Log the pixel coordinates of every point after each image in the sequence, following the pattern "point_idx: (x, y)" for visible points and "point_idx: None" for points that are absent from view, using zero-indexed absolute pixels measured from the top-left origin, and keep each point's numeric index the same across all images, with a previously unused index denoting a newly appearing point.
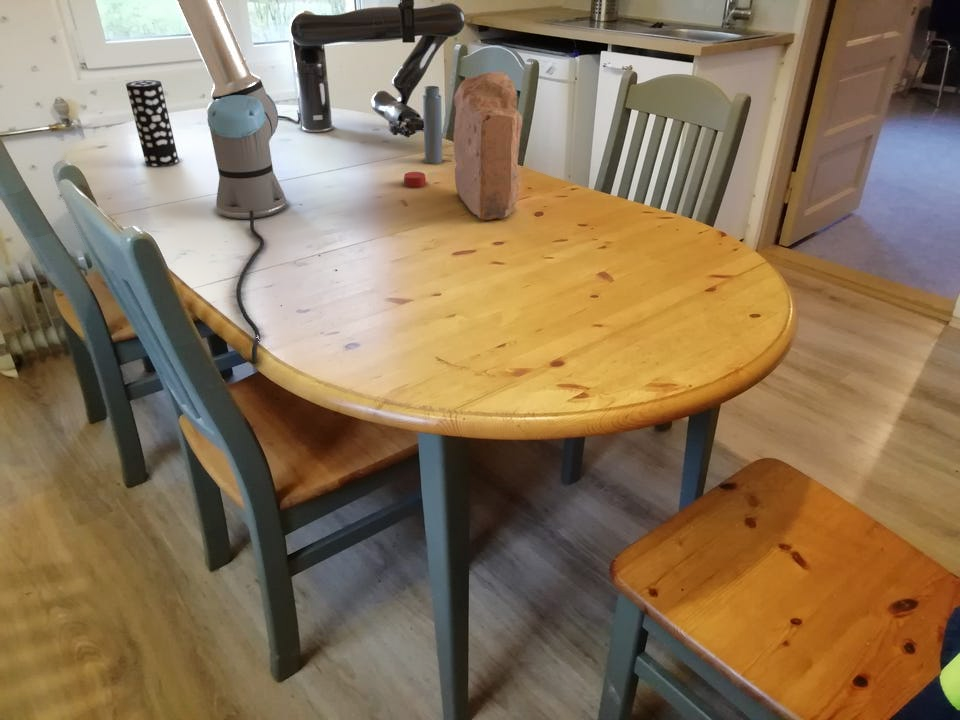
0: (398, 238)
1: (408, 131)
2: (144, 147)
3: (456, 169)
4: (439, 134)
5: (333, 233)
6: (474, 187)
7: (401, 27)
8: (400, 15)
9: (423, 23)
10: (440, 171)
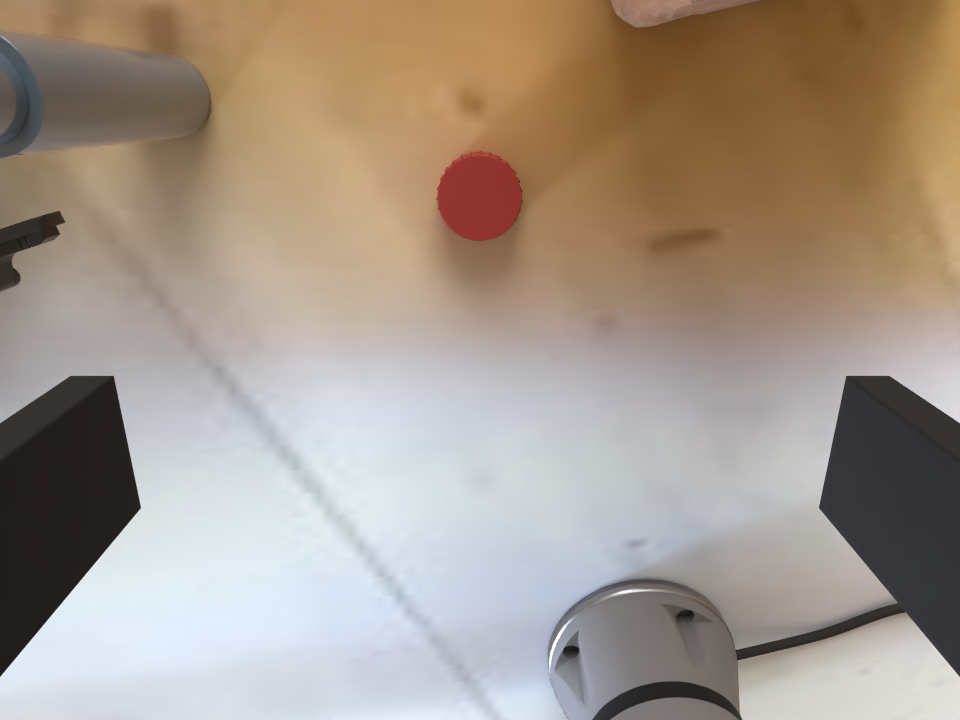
0: None
1: (47, 220)
2: None
3: (675, 15)
4: (135, 59)
5: None
6: None
7: (105, 544)
8: (7, 661)
9: None
10: (314, 74)
